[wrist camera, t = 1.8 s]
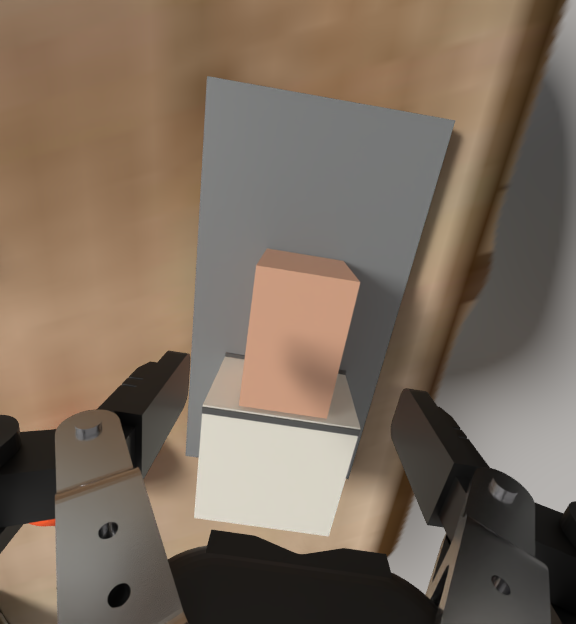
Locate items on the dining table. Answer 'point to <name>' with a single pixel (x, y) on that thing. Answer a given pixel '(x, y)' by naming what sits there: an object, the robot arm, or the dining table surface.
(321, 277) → the stub
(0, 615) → the coffee box
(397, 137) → the grey tray
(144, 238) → the dining table surface
